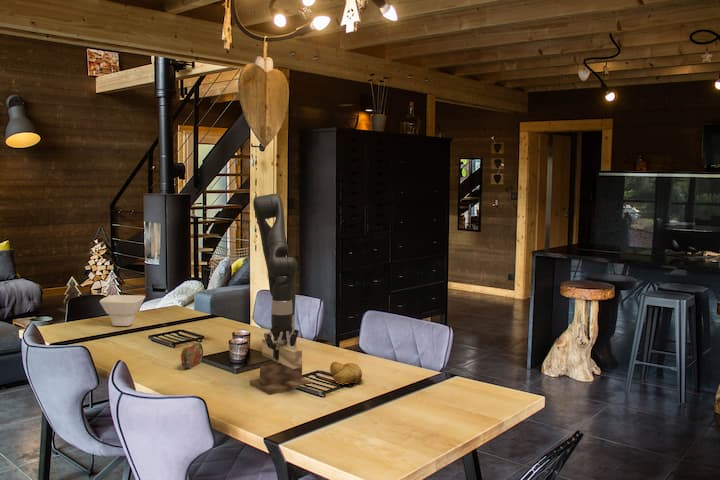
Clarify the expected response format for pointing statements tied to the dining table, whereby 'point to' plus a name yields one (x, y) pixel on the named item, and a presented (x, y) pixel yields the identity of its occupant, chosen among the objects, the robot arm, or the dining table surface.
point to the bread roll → (345, 372)
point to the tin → (192, 355)
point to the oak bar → (284, 354)
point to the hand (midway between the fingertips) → (281, 358)
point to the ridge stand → (279, 379)
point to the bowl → (122, 308)
